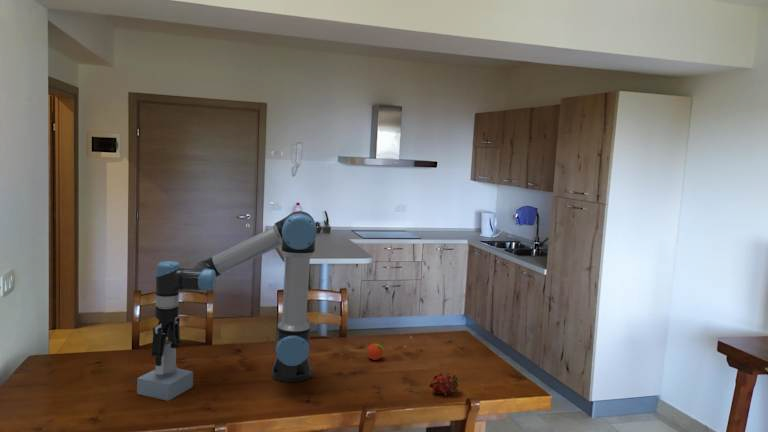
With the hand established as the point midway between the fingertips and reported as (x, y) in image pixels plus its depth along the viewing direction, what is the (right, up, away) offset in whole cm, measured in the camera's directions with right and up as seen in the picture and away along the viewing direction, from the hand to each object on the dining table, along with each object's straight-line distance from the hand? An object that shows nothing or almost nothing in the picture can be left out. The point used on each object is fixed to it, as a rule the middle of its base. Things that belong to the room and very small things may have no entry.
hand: (165, 369), depth 194 cm
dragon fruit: (+99, -12, +12) cm, 100 cm away
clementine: (+73, -8, +42) cm, 85 cm away
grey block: (0, -8, +1) cm, 8 cm away
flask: (0, 0, 0) cm, 0 cm away
